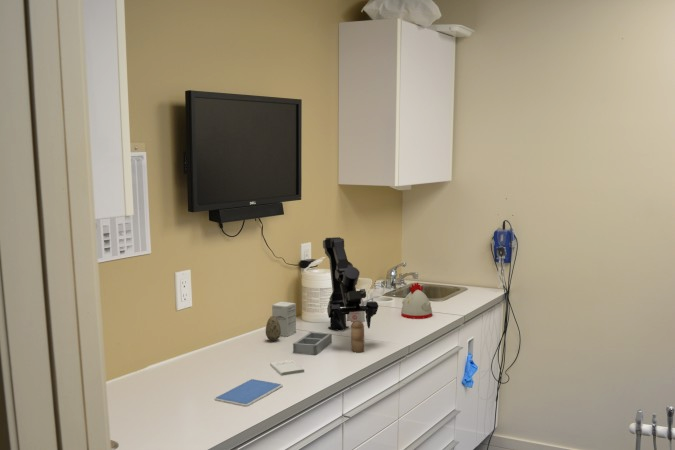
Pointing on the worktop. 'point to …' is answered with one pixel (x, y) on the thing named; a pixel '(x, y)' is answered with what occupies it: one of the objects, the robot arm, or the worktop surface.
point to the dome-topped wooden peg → (357, 337)
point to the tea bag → (357, 315)
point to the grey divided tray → (312, 343)
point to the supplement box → (285, 317)
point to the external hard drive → (286, 367)
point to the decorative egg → (273, 329)
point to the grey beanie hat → (416, 304)
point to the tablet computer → (248, 392)
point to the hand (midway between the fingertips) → (357, 328)
